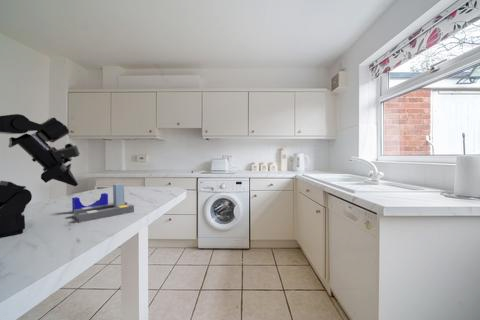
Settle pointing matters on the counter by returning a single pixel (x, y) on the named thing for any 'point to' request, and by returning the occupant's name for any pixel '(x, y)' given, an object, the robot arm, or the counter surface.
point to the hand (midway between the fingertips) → (76, 185)
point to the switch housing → (101, 211)
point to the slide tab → (118, 195)
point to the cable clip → (102, 201)
